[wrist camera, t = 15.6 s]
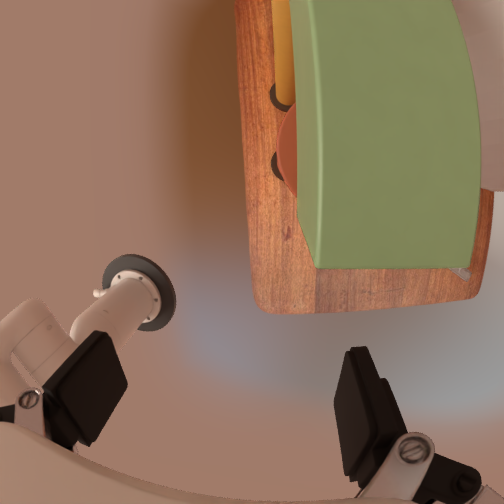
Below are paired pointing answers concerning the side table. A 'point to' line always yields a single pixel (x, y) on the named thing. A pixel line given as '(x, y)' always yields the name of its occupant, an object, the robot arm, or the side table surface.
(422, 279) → the side table surface
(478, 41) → the table lamp
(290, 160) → the terracotta rod
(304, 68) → the green bar
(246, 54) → the side table surface
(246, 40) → the side table surface
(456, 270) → the grey flat slab
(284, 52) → the ochre rod
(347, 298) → the side table surface
